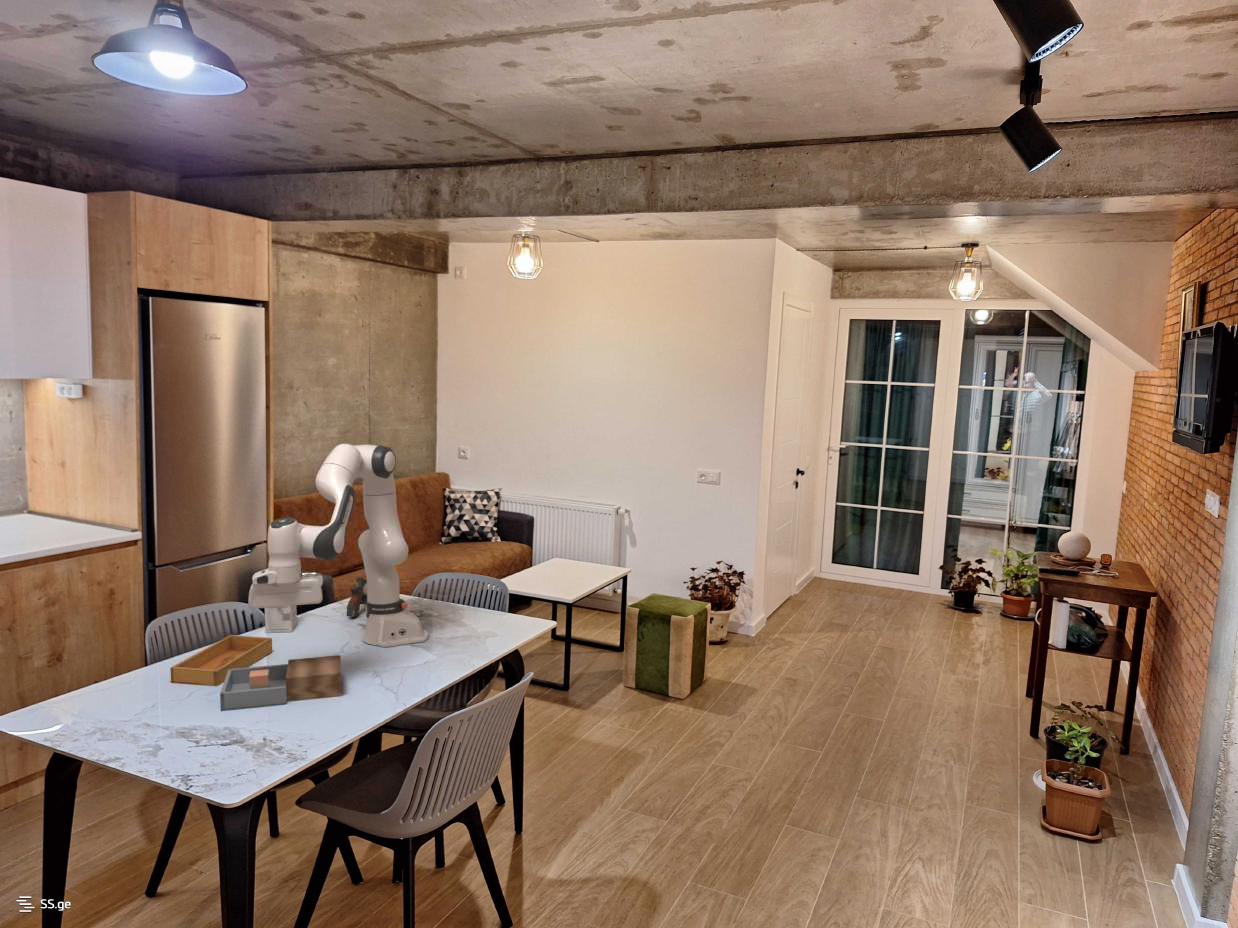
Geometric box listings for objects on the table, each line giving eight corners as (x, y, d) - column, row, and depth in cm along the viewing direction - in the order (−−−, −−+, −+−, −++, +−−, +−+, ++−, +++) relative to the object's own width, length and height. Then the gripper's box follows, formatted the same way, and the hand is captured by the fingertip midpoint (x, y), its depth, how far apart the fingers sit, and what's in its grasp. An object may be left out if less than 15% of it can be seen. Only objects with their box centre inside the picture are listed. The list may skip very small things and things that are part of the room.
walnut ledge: (340, 676, 259) (340, 655, 258) (341, 695, 244) (341, 672, 243) (289, 681, 254) (288, 659, 254) (286, 701, 239) (286, 678, 239)
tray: (217, 687, 250) (216, 669, 249) (170, 684, 252) (170, 666, 251) (272, 653, 280) (272, 637, 279) (230, 650, 282) (230, 634, 281)
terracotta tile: (269, 678, 247) (268, 669, 247) (268, 684, 242) (267, 675, 242) (250, 680, 245) (250, 670, 245) (249, 686, 241) (249, 676, 240)
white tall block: (297, 624, 311) (296, 580, 309) (292, 632, 302) (291, 586, 300) (270, 625, 309) (269, 581, 307) (264, 633, 300) (263, 587, 298)
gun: (381, 616, 344) (385, 580, 346) (355, 616, 317) (359, 577, 319) (370, 616, 344) (373, 579, 347) (343, 616, 317) (347, 576, 320)
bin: (289, 679, 256) (289, 663, 256) (286, 704, 237) (285, 687, 237) (228, 685, 251) (228, 669, 250) (220, 710, 232) (220, 693, 231)
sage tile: (251, 680, 246) (251, 690, 246) (250, 686, 241) (250, 696, 241) (269, 678, 247) (269, 688, 248) (268, 684, 243) (269, 694, 243)
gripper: (322, 569, 249) (324, 613, 251) (248, 574, 243) (250, 620, 244) (322, 574, 243) (324, 619, 245) (246, 579, 237) (248, 626, 238)
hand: (286, 620), depth 245 cm, fingers closed
